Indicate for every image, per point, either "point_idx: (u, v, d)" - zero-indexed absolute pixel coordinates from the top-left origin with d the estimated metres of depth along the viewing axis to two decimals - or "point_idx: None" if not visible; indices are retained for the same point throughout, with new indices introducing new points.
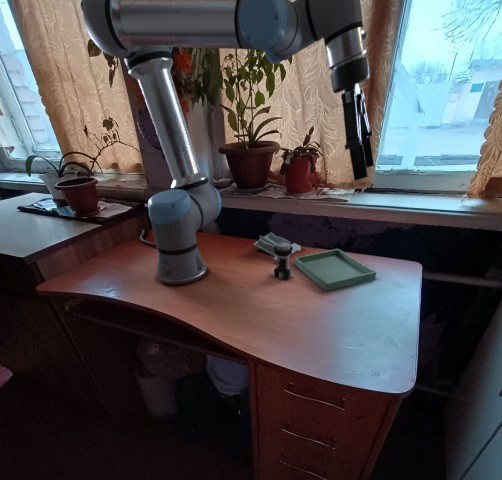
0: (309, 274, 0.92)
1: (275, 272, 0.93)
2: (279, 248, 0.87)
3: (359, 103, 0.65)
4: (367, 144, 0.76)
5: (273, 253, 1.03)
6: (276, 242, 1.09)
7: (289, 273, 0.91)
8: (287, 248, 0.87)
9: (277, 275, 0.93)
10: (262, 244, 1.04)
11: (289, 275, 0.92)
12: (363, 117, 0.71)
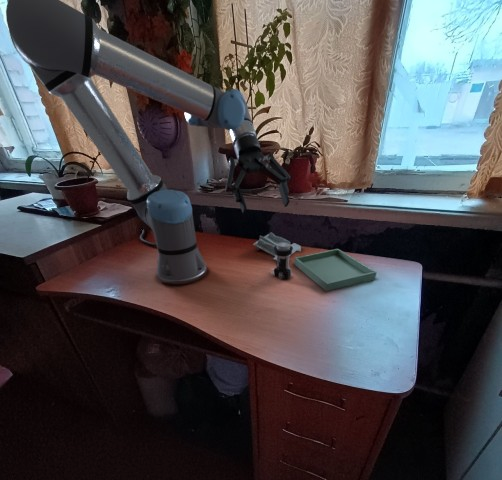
0: (309, 274, 0.92)
1: (275, 272, 0.93)
2: (279, 248, 0.87)
3: None
4: None
5: (273, 253, 1.03)
6: (276, 242, 1.09)
7: (289, 273, 0.91)
8: (287, 248, 0.87)
9: (277, 275, 0.93)
10: (262, 244, 1.04)
11: (289, 275, 0.92)
12: (242, 177, 0.92)
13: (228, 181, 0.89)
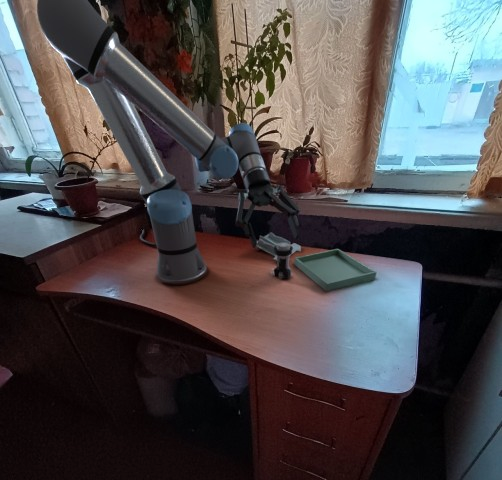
0: (309, 274, 0.92)
1: (275, 272, 0.93)
2: (279, 248, 0.87)
3: None
4: None
5: (273, 253, 1.03)
6: (276, 242, 1.09)
7: (289, 273, 0.91)
8: (287, 248, 0.87)
9: (277, 275, 0.93)
10: (262, 244, 1.04)
11: (289, 275, 0.92)
12: None
13: (238, 216, 0.88)
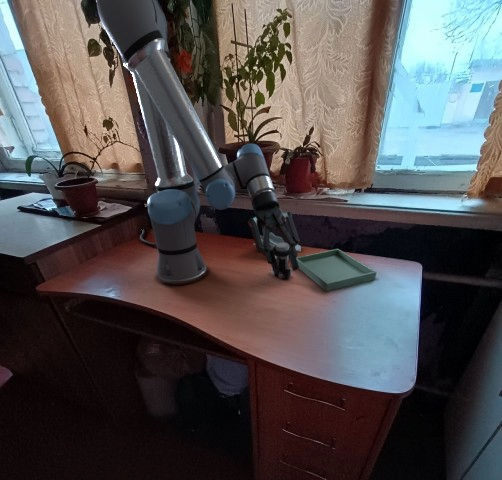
0: (309, 274, 0.92)
1: None
2: (278, 249, 0.87)
3: None
4: None
5: None
6: (276, 242, 1.09)
7: (289, 273, 0.91)
8: (286, 248, 0.86)
9: (277, 275, 0.93)
10: None
11: (289, 275, 0.92)
12: None
13: (259, 244, 0.87)
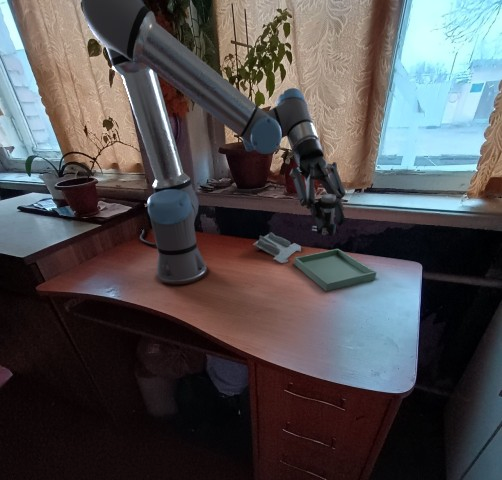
0: (309, 274, 0.92)
1: (318, 228, 0.86)
2: (324, 200, 0.80)
3: None
4: None
5: (273, 253, 1.03)
6: (276, 242, 1.09)
7: (334, 228, 0.85)
8: (333, 199, 0.80)
9: (320, 232, 0.87)
10: (262, 244, 1.04)
11: (333, 231, 0.85)
12: None
13: (304, 195, 0.81)
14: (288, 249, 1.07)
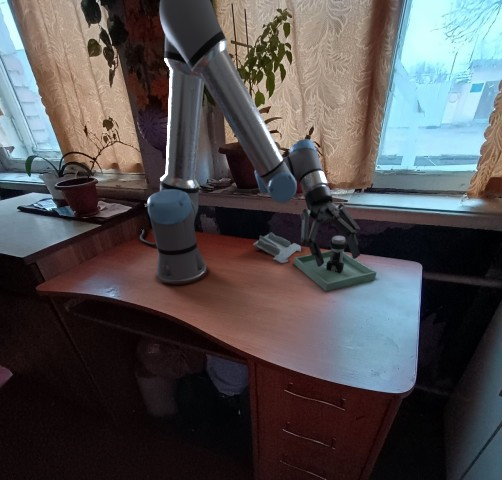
0: (309, 274, 0.92)
1: (327, 266, 0.93)
2: (335, 241, 0.88)
3: None
4: None
5: (273, 253, 1.03)
6: (276, 242, 1.09)
7: (342, 266, 0.92)
8: (343, 241, 0.87)
9: (329, 269, 0.94)
10: (262, 244, 1.04)
11: (342, 268, 0.92)
12: None
13: (305, 235, 0.88)
14: (288, 249, 1.07)
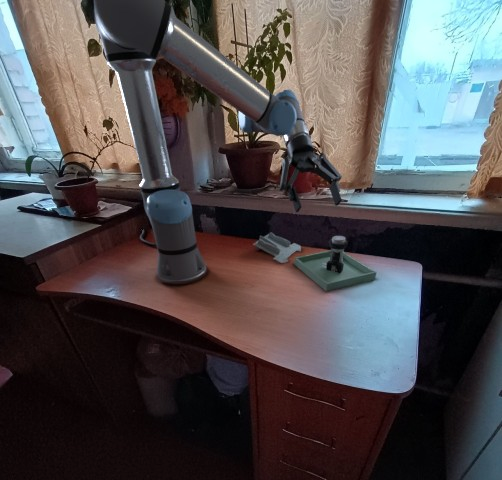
0: (309, 274, 0.92)
1: (327, 266, 0.93)
2: (335, 241, 0.88)
3: None
4: None
5: (273, 253, 1.03)
6: (276, 242, 1.09)
7: (342, 266, 0.92)
8: (343, 241, 0.87)
9: (329, 269, 0.94)
10: (262, 244, 1.04)
11: (342, 268, 0.92)
12: None
13: (283, 180, 0.90)
14: (288, 249, 1.07)
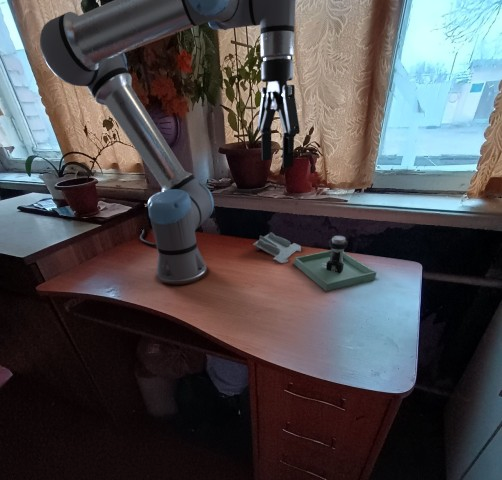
0: (309, 274, 0.92)
1: (327, 266, 0.93)
2: (335, 241, 0.88)
3: None
4: (269, 139, 0.86)
5: (273, 253, 1.03)
6: (276, 242, 1.09)
7: (342, 266, 0.92)
8: (343, 241, 0.87)
9: (329, 269, 0.94)
10: (262, 244, 1.04)
11: (342, 268, 0.92)
12: (274, 113, 0.81)
13: (258, 122, 0.86)
14: (288, 249, 1.07)
